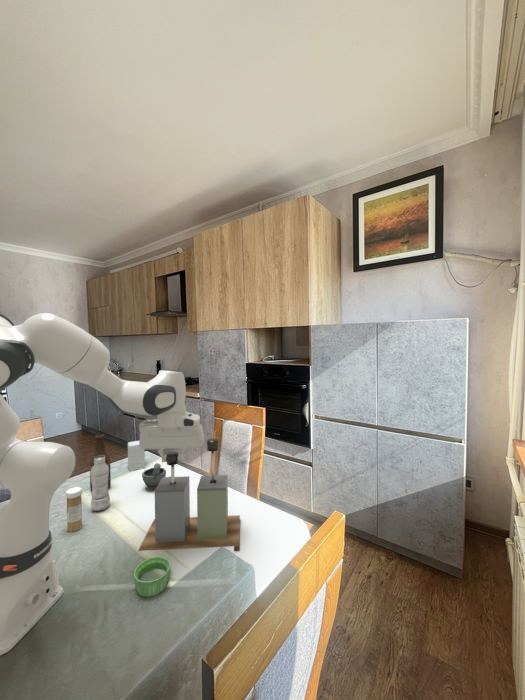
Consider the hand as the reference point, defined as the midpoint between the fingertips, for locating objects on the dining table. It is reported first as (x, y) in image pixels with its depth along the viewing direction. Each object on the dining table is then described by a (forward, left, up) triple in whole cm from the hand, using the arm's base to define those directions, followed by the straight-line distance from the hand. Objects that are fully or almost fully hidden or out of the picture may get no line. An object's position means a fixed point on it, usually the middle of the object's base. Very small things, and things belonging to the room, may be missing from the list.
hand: (172, 461), depth 96 cm
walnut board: (0, -7, -25) cm, 26 cm away
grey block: (0, 0, -24) cm, 24 cm away
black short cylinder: (0, 0, -18) cm, 18 cm away
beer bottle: (+34, +39, -25) cm, 58 cm away
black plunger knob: (0, -13, -14) cm, 19 cm away
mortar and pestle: (+34, +16, -25) cm, 45 cm away
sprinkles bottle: (+7, +35, -25) cm, 44 cm away
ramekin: (-19, +1, -25) cm, 32 cm away
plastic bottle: (+19, +32, -25) cm, 45 cm away
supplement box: (+57, +32, -25) cm, 70 cm away
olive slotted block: (0, -13, -24) cm, 27 cm away
